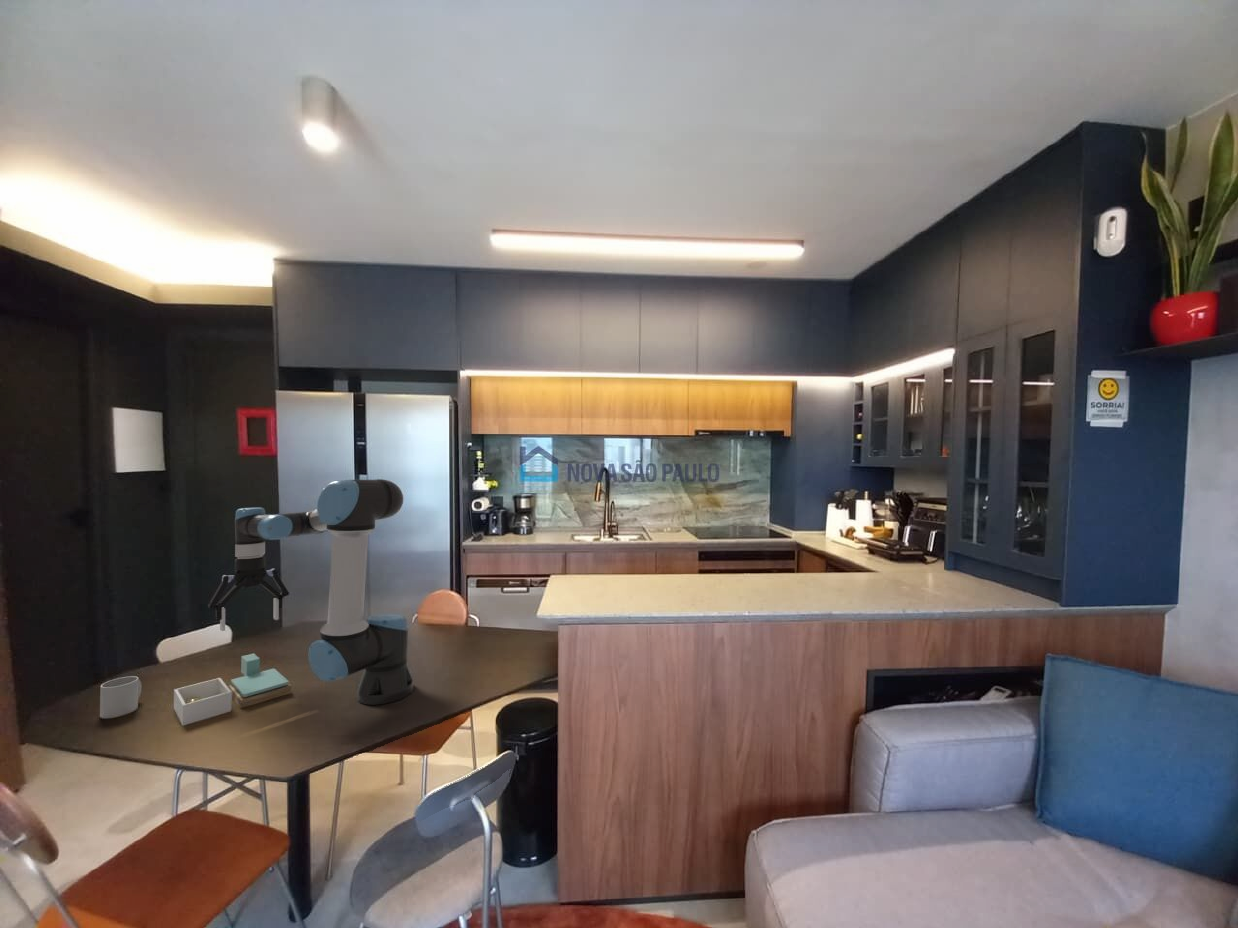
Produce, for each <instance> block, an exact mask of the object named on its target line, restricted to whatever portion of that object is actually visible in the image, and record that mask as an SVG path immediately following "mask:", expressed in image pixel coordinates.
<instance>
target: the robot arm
mask: <svg viewBox="0 0 1238 928" xmlns="http://www.w3.org/2000/svg"><path fill="white" fill-rule="evenodd" d="M403 504H404V495H403V492H402V489H401V488H400V487H399V486H398V485H397V484H396V483H394V482H393V481H390V480H387V479H380V478H379V479H377V478H376V479H350V478H349V479H341V480H334V481H331V482H329V483H328V484H327V485H326V486H325V487H324V488H323V489H322V490H321V492H320V494H319V496H318V499H317V505H316V509H312V510H310V511H302V512H290V513H288V512H287V513H276V514H266V509H265V508H263V507H243V508H238V509H237V510H236V511H235V517H234V518H235V519H234V533H235V535H234V539H235V540H234V541H235V545H234V546H235V548H234V550H235V551H234V553H235V554H234V557H236V559H235V560H234V574H233V575H232V574H231V575H226V574H223V575H222V576H221V582H220V583H219V586H218V587H217V588H216V590H215V592H214V594H213V596H212V597H211V599H210V601H209V602H208V603H207V607H208V609H211V610H212V609H213V610H215V619H216V620H217V621H219V630H220V631H222V632H223V631H226V608H225V607H224V606H226V605H227V603H228V602H229V601H230V600H231V599H232V598H233V597H234V596H235V594H237V592H238V591H240V590H241V589H242V588H250V587H256V586H259V585H261V586H263V588H265V589H266V590H268V592H270V594H272V595H273V596H275V597H274V598H273V602H272V603H273V607H272V608H273V612H272V613H273V614H272V615H273V617H272V618H273V620H275V621H278V620H279V619H280V617H279V615H280V613H279V609H282V608H283V599H284V597H287V596H290V595H289V594H290V592H289V590H288V589H287V587H286V586H285V584H284V582H283V581H282V580H281V579H280V576H279V573H278V570H277V569H276V568H273V567H272V568H271V569H268V570H266V556H265V554H266V540H269V541H274V540H275V541H277V540H282V539H283V540H284V539H285V538H288V537H289V538H290V537H299V536H307V535H319V534H324V533H327V532H329V534H331V535H332V542H331V543H332V544H331V557H330V574H329V576H330V577H329V591H328V607H327V608H328V609H327V610H328V611H327V622H325V624H324V625H323V626H321V627H320V633H319V639H317V640H315V641H313V642H312V643H311V645H310V646H309V648H308V652H307V653H308V655H307V657H308V663H309V665H310V668H311V670H312V672H313V673H314V674H315V676H316V677H317V678H318V679H320V680H321V681H324V682H326V683H327V682H328V683H331V682H336V681H338V680H341V679H346V678H347V677H349V676H350V675H353V674H355V673H358V672H360V671H362V670H363V673H362V676H361V678H360V682H359V685H358V688H357V691H356V694H357V696H356V698H357V699H356V700H357V701H358V702H359V703H360V704H364V705H368V706H369V705H370V706H371V705H373V706H374V705H383V704H384V705H385V704H389V703H393V702H396V701H398V700H401V699H403V698H405V697H408V696H409V694H411V693H412V691H413V690H414V679H413V675H411V674H412V673H411V671H410V668H409V665H408V633H409V632H408V631H409V629H408V620H407V618H406V617H405V616H403V615H402V614H393V613H392V614H391V613H384V614H383V613H382V614H374V615H370V616H366V618H365V619H364V611H365V595H366V578H367V563H368V562H367V561H368V543H369V535H370V533H372V532H374V530H375V528H376V521H377V520H384V519H388V518H391V517H393V516H395V515H396V514H397V513H399V511H400V510H401V509H402V507H403ZM267 575H268V576H269V577H271V578H272V579H273V581H274V583H275V585H276V586H277V587H278V589H279V591H280V592H278V590H277V589H276V588H274V587H273V586H272V585H271V584H269V583H268V582H267V581H266V580H264V579H265V578H266V577H267ZM232 580H234V581H235V583H234V584H233V586H232V587H231V588H230V589H229V591H227V592H226V594H225V595H224V596H222V595H223V593H224V591H225V590H226V588H227V586H228V583H231V582H232ZM221 596H222V598H221ZM220 598H221V599H220Z"/></svg>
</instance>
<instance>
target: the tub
mask: <svg viewBox="0 0 1238 928" xmlns="http://www.w3.org/2000/svg"><path fill="white" fill-rule="evenodd" d="M194 697H200V700H198V701H194V702H190V703H187V700H188V699H191V698H194ZM232 701H233V698H232V692H231V690H230V689H229V686H228V685H227V684H226V682H224V681H223V679H222V678H221V677H217V678H214V679H210V680H206V681H201V682H198V683H195V684H190V685H185V686H183V687H179V688H174V689H173V710H174V712H175V714H176V716H177V718H178V720H179V721H180V724H181V725H182V726H186V725H190V724H193V723H196V722H200V721H203V720H206V719H207V720H208V719H209V718H212V717H216V716H219V715H223V714H226V713H229V712H232Z"/></svg>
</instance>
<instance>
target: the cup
mask: <svg viewBox="0 0 1238 928" xmlns="http://www.w3.org/2000/svg"><path fill="white" fill-rule="evenodd" d="M99 693H100V694H99V701H100V702H99V718H100V719H113V718H117V717H118V718H119V717H121V716H126V715H128V714H130V713H132V712H134V711H136V710H137V709H138V708H139V698H140V696H141V693H142V682H141V680H140V679H139V677H138V676H135V675H131V676H124V677H123V676H122V677H118V678H114V679H112V680H111V679H110V680H108V681H106V682H104V683H102V684H101V685H100V692H99Z"/></svg>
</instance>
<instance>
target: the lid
mask: <svg viewBox="0 0 1238 928" xmlns="http://www.w3.org/2000/svg"><path fill="white" fill-rule="evenodd" d="M240 658H241V659H240V661H241V663H240V664H241V666H240V673H241V674H242V675H243V676H239V677H236V678H233V679H230V683H231V685H234V687H235V688H236V689H237V690H238V691H239V693H240V694H241V695H242V696H243V697H247V696H251V695H254V694H258V693H261V692H265V691H268V690H272V689H275V688H278V687H282V686H285V685H288V684H290V681H289V680H288V679H287V678H285V676H283V675H282V674H281V673H280V672H279V671H278V670H277V669H276V668H269V669H266V670H263V671H260V663H261V659H260V657H259V656H257V655H256V654H255V653H250V654H246V655H241V656H240Z"/></svg>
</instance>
